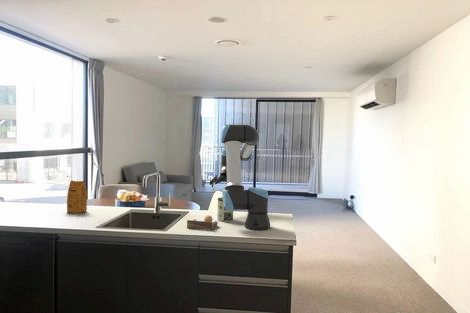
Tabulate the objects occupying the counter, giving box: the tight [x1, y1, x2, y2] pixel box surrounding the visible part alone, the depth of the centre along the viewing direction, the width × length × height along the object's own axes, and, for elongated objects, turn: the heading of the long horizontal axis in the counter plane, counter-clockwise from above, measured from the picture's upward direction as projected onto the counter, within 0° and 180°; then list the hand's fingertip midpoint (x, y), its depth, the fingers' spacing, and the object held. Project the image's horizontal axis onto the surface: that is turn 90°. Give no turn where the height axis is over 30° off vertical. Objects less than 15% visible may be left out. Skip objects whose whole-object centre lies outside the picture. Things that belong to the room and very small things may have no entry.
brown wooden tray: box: [186, 219, 218, 231], centre depth 207 cm, size 10×15×4 cm
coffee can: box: [216, 196, 234, 223], centre depth 227 cm, size 10×10×14 cm
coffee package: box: [66, 180, 88, 214], centre depth 245 cm, size 10×12×22 cm
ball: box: [203, 214, 213, 222], centre depth 217 cm, size 5×5×5 cm
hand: (223, 190), depth 236 cm, fingers open, 13 cm apart
